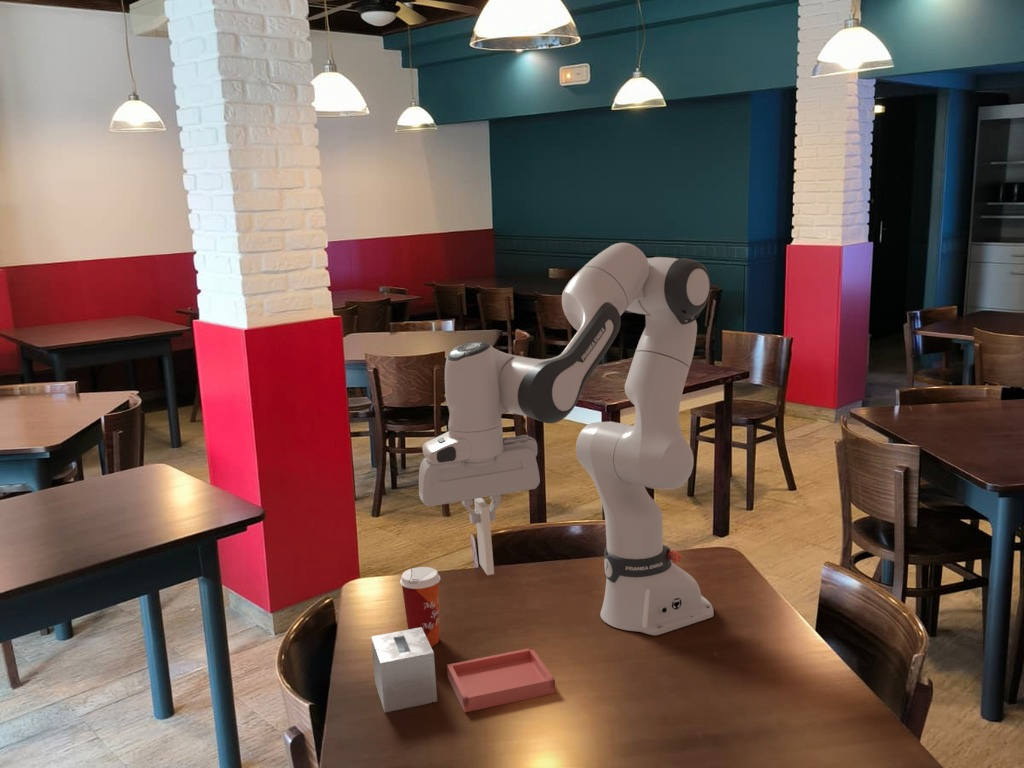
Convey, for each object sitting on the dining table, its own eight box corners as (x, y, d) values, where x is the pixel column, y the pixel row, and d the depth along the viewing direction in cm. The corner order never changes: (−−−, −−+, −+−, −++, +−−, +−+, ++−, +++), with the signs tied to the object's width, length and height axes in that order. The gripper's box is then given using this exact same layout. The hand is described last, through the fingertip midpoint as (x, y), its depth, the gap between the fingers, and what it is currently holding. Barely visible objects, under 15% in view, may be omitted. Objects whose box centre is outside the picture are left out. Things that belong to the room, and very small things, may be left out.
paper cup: (438, 652, 168) (433, 582, 165) (399, 650, 169) (393, 581, 166) (449, 632, 175) (444, 566, 172) (412, 630, 177) (407, 564, 174)
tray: (532, 660, 163) (532, 647, 162) (555, 692, 152) (554, 679, 151) (447, 677, 158) (446, 664, 158) (464, 712, 147) (463, 698, 147)
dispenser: (425, 673, 160) (421, 627, 158) (437, 701, 151) (433, 652, 149) (375, 683, 158) (371, 636, 156) (384, 712, 148) (380, 663, 146)
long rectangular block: (486, 562, 153) (480, 496, 151) (494, 573, 149) (488, 506, 146) (479, 564, 153) (474, 498, 151) (487, 575, 148) (481, 507, 146)
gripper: (530, 428, 152) (535, 505, 155) (412, 446, 146) (420, 525, 149) (542, 437, 146) (547, 516, 149) (420, 456, 141) (428, 538, 144)
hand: (482, 521), depth 149 cm, fingers closed on long rectangular block, 1 cm apart
